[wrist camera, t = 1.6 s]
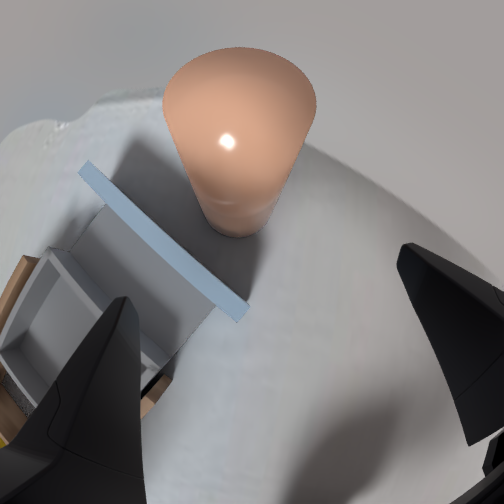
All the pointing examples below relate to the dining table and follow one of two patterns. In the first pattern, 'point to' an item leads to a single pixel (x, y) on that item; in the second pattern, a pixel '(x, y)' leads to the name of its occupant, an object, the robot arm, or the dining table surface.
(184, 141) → the peach tall cylinder
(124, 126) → the dining table surface
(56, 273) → the tray
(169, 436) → the dining table surface
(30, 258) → the dock
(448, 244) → the dining table surface
